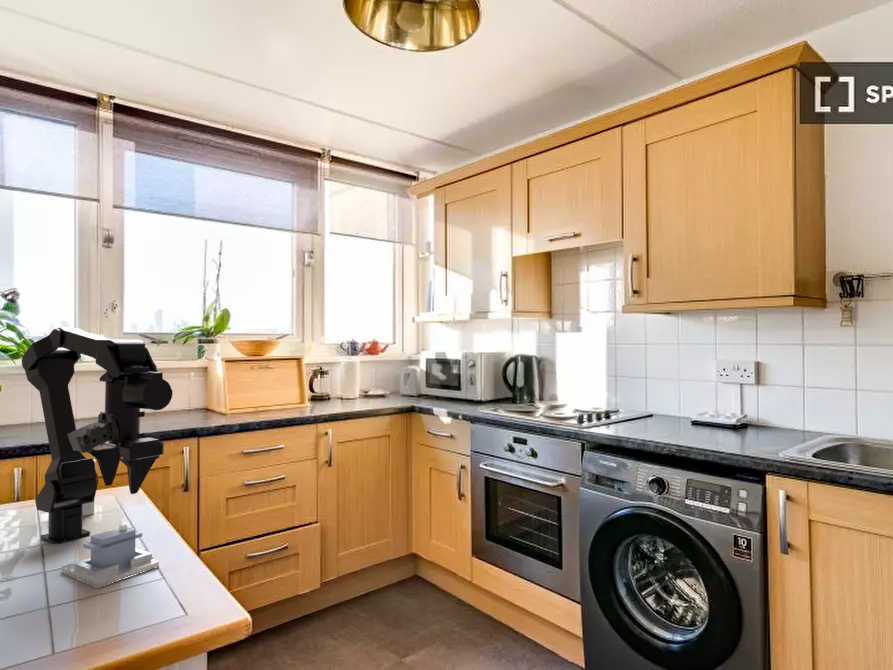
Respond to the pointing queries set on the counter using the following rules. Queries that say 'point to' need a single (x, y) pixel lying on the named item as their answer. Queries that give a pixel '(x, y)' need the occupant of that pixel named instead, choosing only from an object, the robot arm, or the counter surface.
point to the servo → (113, 546)
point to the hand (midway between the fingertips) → (120, 489)
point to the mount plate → (110, 569)
